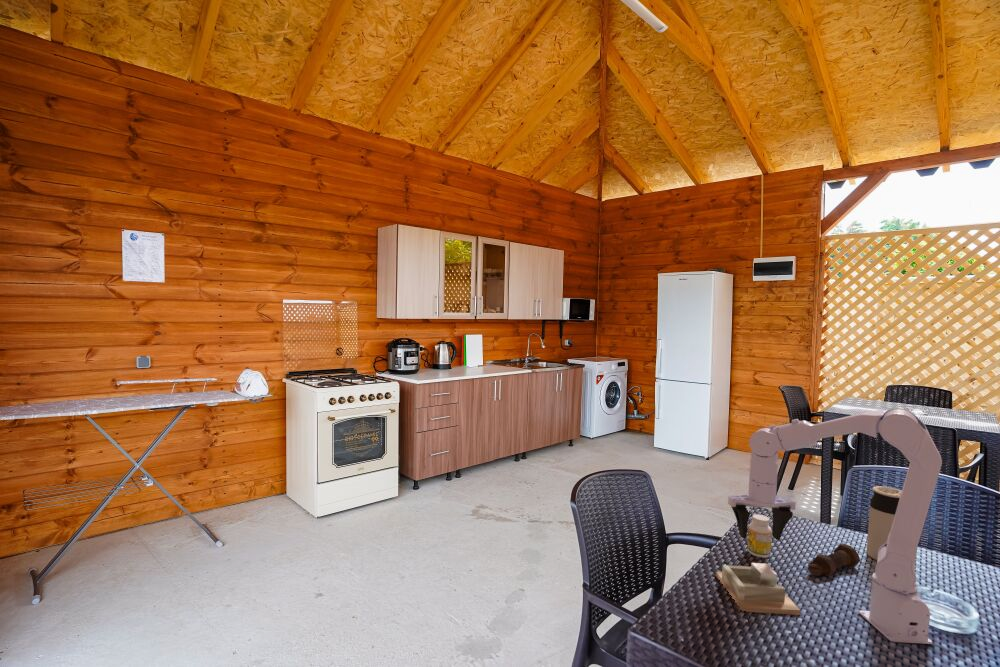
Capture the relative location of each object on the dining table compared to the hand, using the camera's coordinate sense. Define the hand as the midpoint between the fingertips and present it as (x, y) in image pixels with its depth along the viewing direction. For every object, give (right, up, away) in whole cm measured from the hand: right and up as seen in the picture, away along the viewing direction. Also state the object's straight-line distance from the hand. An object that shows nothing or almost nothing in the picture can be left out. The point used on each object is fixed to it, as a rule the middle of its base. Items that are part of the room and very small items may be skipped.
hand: (759, 537), depth 117 cm
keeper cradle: (-4, -11, -5) cm, 12 cm away
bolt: (+21, -11, +7) cm, 25 cm away
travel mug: (+40, -11, +14) cm, 44 cm away
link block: (-2, -10, -5) cm, 11 cm away
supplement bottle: (+7, -10, +14) cm, 19 cm away
